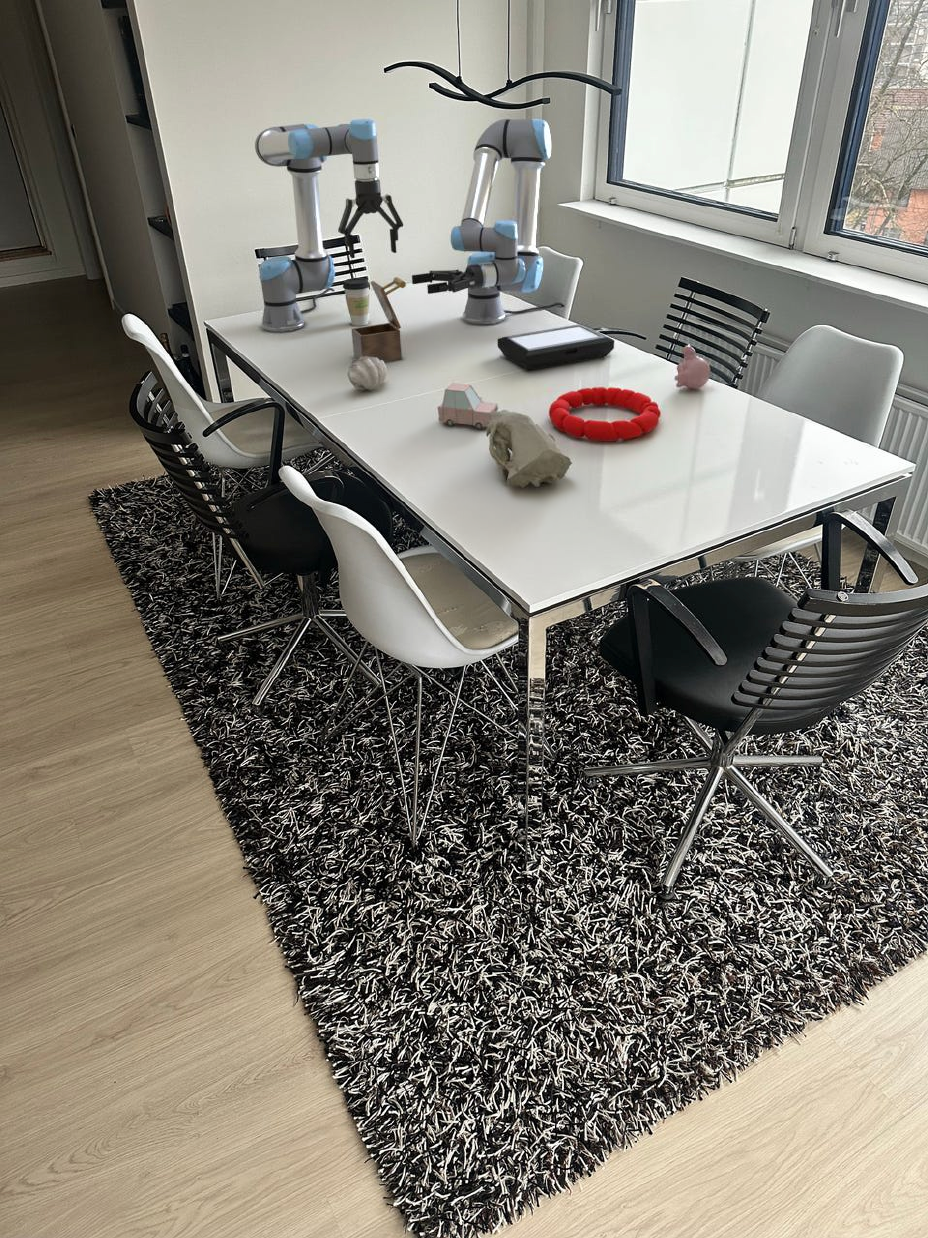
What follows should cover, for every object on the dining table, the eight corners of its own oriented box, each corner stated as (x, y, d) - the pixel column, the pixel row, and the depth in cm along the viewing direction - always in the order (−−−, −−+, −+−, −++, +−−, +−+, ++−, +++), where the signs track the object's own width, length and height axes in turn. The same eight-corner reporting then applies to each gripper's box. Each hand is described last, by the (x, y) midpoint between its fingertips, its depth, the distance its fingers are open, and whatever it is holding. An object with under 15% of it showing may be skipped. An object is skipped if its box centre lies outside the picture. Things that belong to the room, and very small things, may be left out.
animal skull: (496, 517, 219) (521, 479, 201) (463, 429, 225) (484, 384, 207) (557, 503, 225) (586, 465, 206) (523, 417, 231) (549, 373, 212)
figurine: (665, 387, 264) (669, 347, 257) (693, 380, 268) (698, 340, 261) (686, 396, 257) (690, 355, 250) (714, 388, 262) (720, 348, 255)
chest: (363, 365, 288) (360, 336, 283) (354, 357, 295) (351, 328, 290) (402, 359, 292) (399, 330, 287) (392, 351, 300) (389, 322, 294)
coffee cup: (372, 326, 323) (368, 283, 314) (345, 327, 323) (340, 284, 315) (374, 318, 331) (371, 276, 322) (348, 319, 331) (344, 277, 323)
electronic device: (525, 353, 274) (497, 336, 289) (525, 373, 277) (497, 355, 292) (614, 337, 284) (582, 321, 299) (613, 356, 288) (581, 340, 303)
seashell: (340, 388, 271) (336, 356, 265) (384, 379, 276) (382, 347, 271) (353, 398, 263) (350, 365, 258) (399, 389, 269) (396, 356, 263)
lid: (380, 289, 277) (403, 275, 278) (370, 282, 285) (393, 268, 286) (398, 329, 286) (421, 315, 287) (388, 321, 294) (410, 308, 295)
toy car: (488, 432, 240) (488, 396, 234) (436, 426, 244) (434, 390, 239) (499, 419, 247) (499, 384, 241) (448, 413, 252) (447, 379, 246)
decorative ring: (589, 435, 224) (684, 402, 234) (527, 398, 247) (617, 369, 256) (589, 461, 229) (683, 427, 238) (529, 422, 251) (617, 393, 260)
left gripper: (330, 184, 257) (338, 261, 269) (410, 176, 265) (415, 252, 277) (322, 181, 263) (331, 256, 275) (402, 173, 271) (406, 247, 283)
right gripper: (496, 296, 286) (435, 305, 279) (464, 279, 305) (407, 287, 298) (496, 272, 282) (434, 280, 275) (464, 256, 301) (405, 264, 294)
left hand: (373, 254), depth 276 cm, fingers open, 13 cm apart
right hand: (419, 284), depth 287 cm, fingers open, 13 cm apart
